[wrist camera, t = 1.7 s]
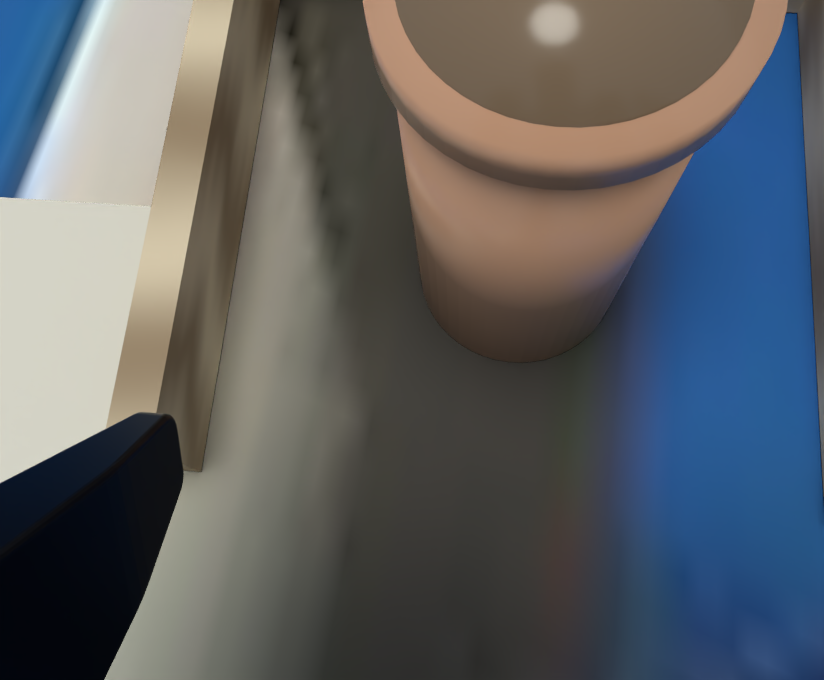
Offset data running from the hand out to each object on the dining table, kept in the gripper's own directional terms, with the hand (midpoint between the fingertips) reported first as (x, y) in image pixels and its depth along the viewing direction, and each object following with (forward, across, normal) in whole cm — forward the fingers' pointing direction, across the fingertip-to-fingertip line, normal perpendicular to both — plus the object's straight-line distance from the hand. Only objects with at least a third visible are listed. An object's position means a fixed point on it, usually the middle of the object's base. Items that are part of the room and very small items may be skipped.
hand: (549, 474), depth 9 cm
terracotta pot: (+15, 0, +4) cm, 16 cm away
